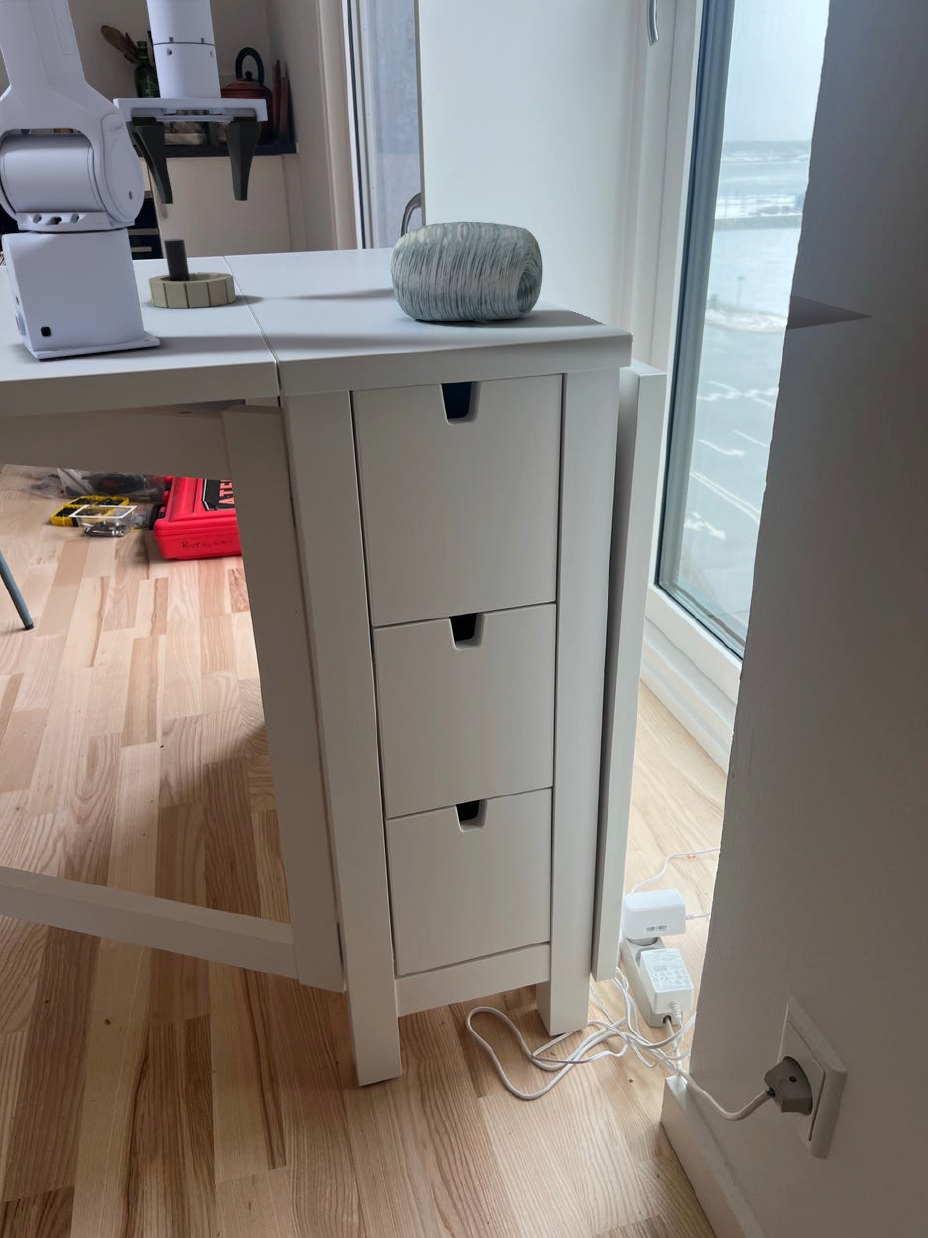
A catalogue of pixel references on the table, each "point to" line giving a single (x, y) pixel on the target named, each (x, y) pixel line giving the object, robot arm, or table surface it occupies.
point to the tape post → (177, 260)
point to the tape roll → (192, 290)
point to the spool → (466, 271)
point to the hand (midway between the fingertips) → (204, 201)
